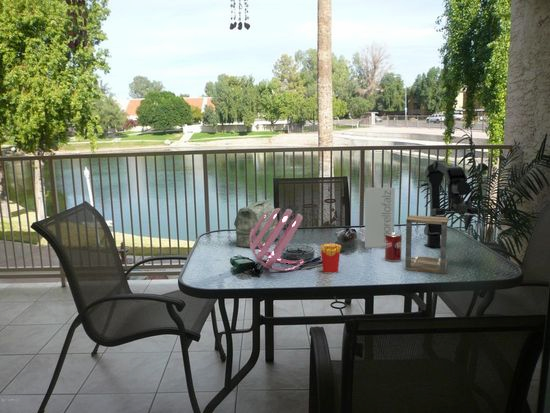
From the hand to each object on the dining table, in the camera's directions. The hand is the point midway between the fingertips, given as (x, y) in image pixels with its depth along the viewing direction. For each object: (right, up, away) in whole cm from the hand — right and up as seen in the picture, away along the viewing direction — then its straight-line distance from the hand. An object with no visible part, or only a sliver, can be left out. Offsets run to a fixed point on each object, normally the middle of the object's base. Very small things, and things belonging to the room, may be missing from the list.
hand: (455, 231), depth 199 cm
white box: (-26, -10, +32) cm, 43 cm away
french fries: (-55, -17, -4) cm, 58 cm away
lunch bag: (-89, -9, +47) cm, 101 cm away
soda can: (-25, -14, +10) cm, 30 cm away
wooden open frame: (-13, -15, -1) cm, 20 cm away
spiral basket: (-78, -17, +4) cm, 80 cm away
